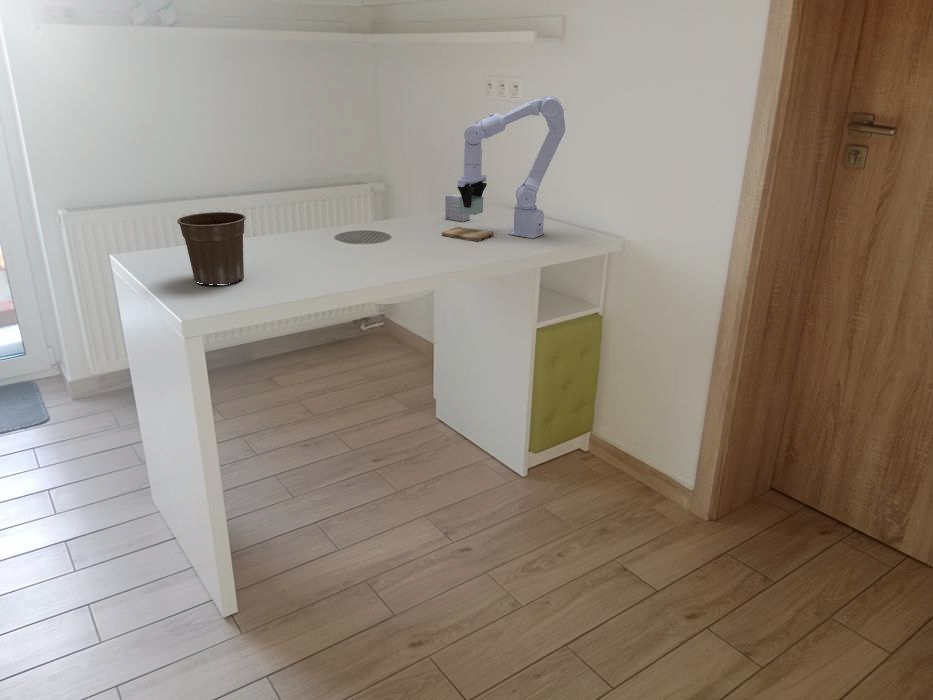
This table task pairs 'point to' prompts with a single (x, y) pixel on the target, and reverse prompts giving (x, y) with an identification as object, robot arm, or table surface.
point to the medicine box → (454, 209)
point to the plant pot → (215, 246)
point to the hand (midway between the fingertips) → (471, 206)
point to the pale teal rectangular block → (472, 206)
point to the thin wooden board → (468, 233)
